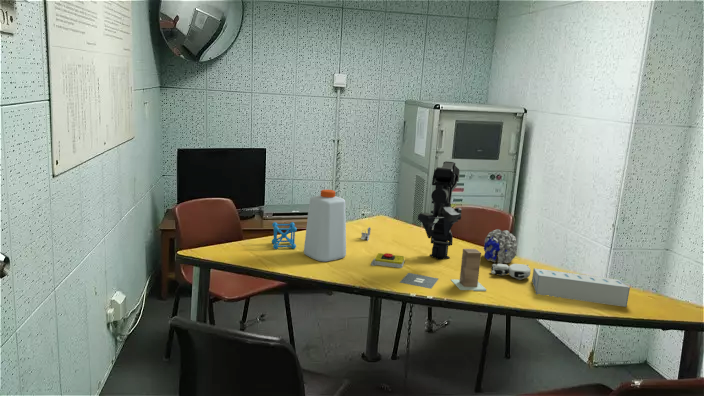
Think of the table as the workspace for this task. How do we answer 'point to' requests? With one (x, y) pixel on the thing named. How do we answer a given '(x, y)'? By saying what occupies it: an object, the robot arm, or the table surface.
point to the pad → (461, 287)
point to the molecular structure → (284, 235)
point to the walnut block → (470, 267)
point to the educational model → (500, 246)
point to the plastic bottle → (326, 227)
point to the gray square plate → (419, 280)
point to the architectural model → (366, 234)
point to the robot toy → (511, 270)
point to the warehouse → (580, 287)
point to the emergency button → (388, 260)
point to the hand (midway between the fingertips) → (437, 237)
